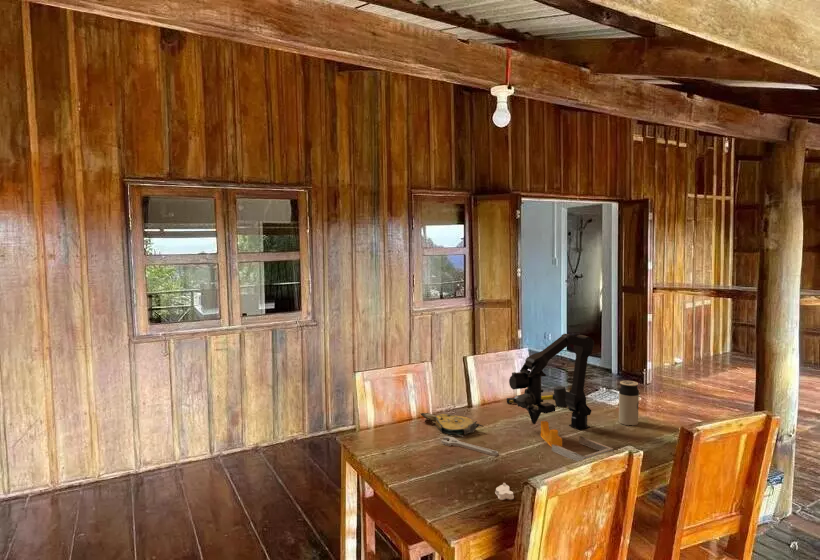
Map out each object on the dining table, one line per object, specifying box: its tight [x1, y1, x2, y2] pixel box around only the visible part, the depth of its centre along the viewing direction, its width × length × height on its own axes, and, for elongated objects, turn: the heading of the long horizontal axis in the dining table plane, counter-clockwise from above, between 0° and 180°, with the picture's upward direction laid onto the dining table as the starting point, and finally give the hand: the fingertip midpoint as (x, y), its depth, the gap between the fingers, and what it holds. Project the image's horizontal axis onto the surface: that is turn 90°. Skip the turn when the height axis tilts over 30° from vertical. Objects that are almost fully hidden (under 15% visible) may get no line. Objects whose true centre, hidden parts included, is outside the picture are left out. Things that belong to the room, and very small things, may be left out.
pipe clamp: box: [540, 420, 563, 448], centre depth 217 cm, size 12×4×6 cm, turn 6°
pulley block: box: [420, 412, 484, 438], centre depth 234 cm, size 14×6×30 cm
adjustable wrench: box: [440, 436, 499, 457], centre depth 210 cm, size 25×6×2 cm, turn 47°
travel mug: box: [618, 380, 640, 426], centre depth 238 cm, size 8×8×18 cm
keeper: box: [551, 436, 614, 462], centre depth 205 cm, size 16×15×2 cm
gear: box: [494, 482, 515, 501], centre depth 172 cm, size 9×9×2 cm
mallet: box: [506, 385, 568, 408], centre depth 266 cm, size 29×6×10 cm, turn 80°
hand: (533, 423), depth 226 cm, fingers closed
